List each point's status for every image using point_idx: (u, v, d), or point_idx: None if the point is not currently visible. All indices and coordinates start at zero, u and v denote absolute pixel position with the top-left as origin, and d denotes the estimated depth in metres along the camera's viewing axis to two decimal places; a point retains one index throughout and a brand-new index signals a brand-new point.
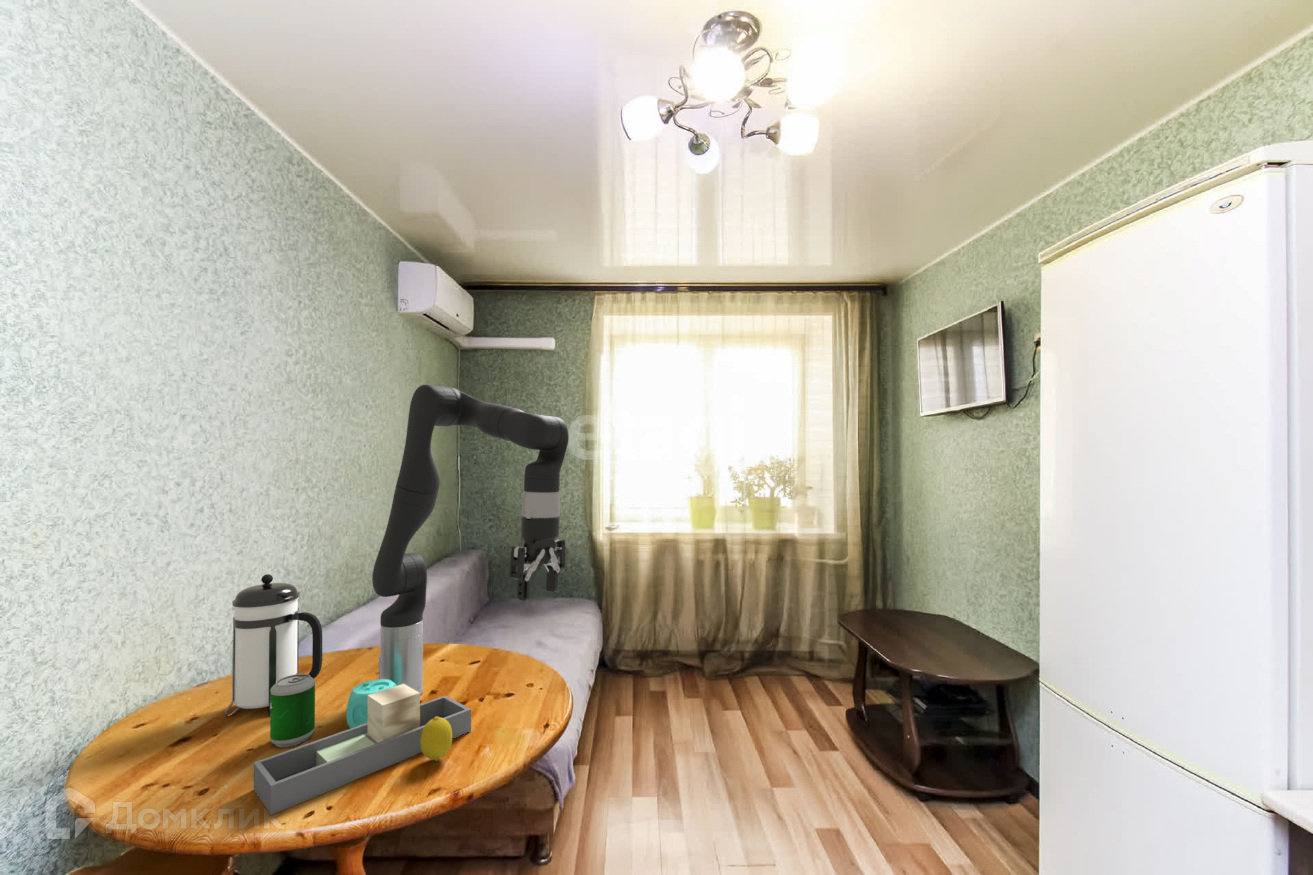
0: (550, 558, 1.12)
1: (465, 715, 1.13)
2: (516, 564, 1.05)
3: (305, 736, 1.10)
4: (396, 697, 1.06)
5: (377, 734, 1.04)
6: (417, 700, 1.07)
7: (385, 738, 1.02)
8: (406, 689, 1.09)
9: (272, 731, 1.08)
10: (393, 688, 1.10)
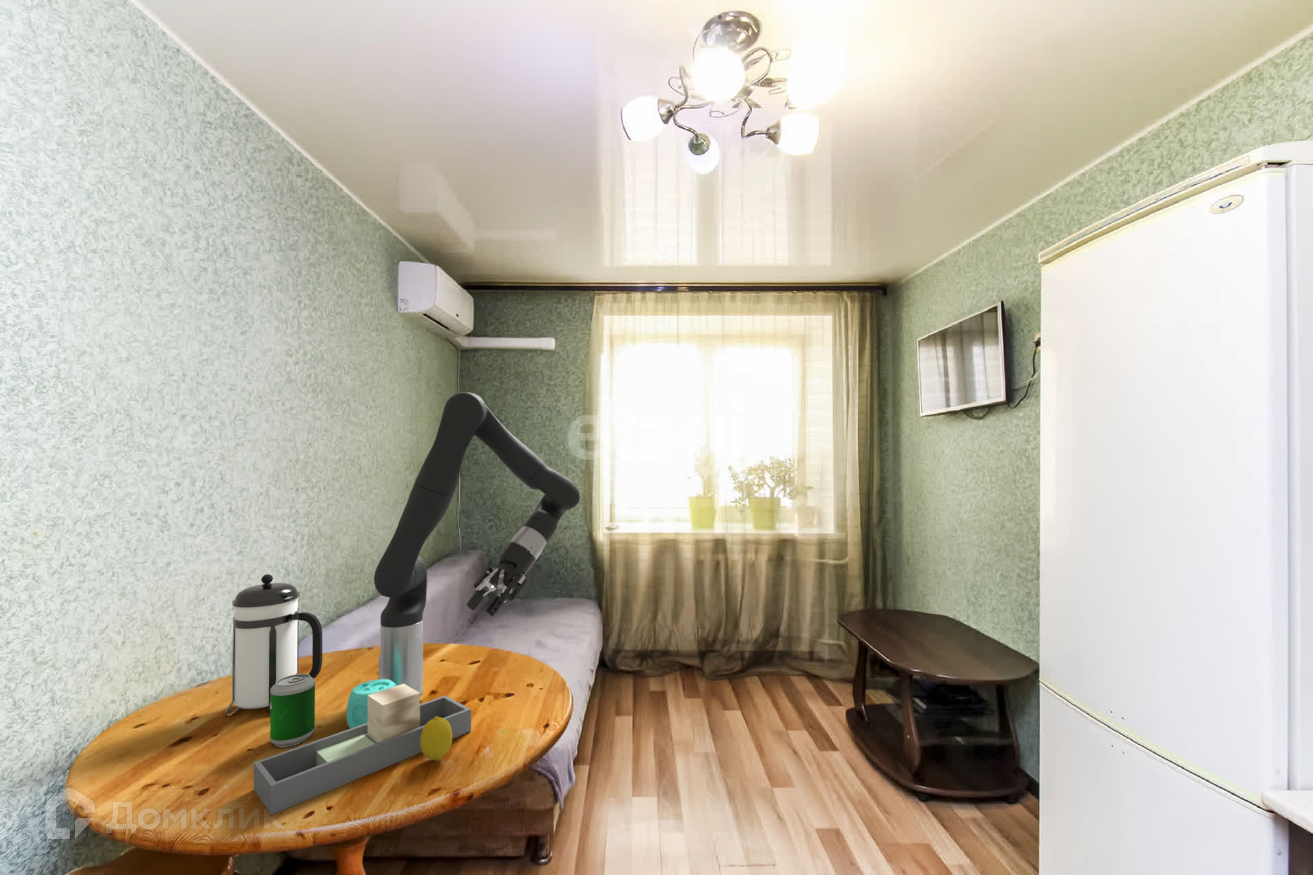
0: None
1: (465, 715, 1.13)
2: (517, 588, 1.21)
3: (305, 736, 1.10)
4: (396, 697, 1.06)
5: (377, 734, 1.04)
6: (417, 700, 1.07)
7: (385, 738, 1.02)
8: (406, 689, 1.09)
9: (272, 731, 1.08)
10: (393, 688, 1.10)
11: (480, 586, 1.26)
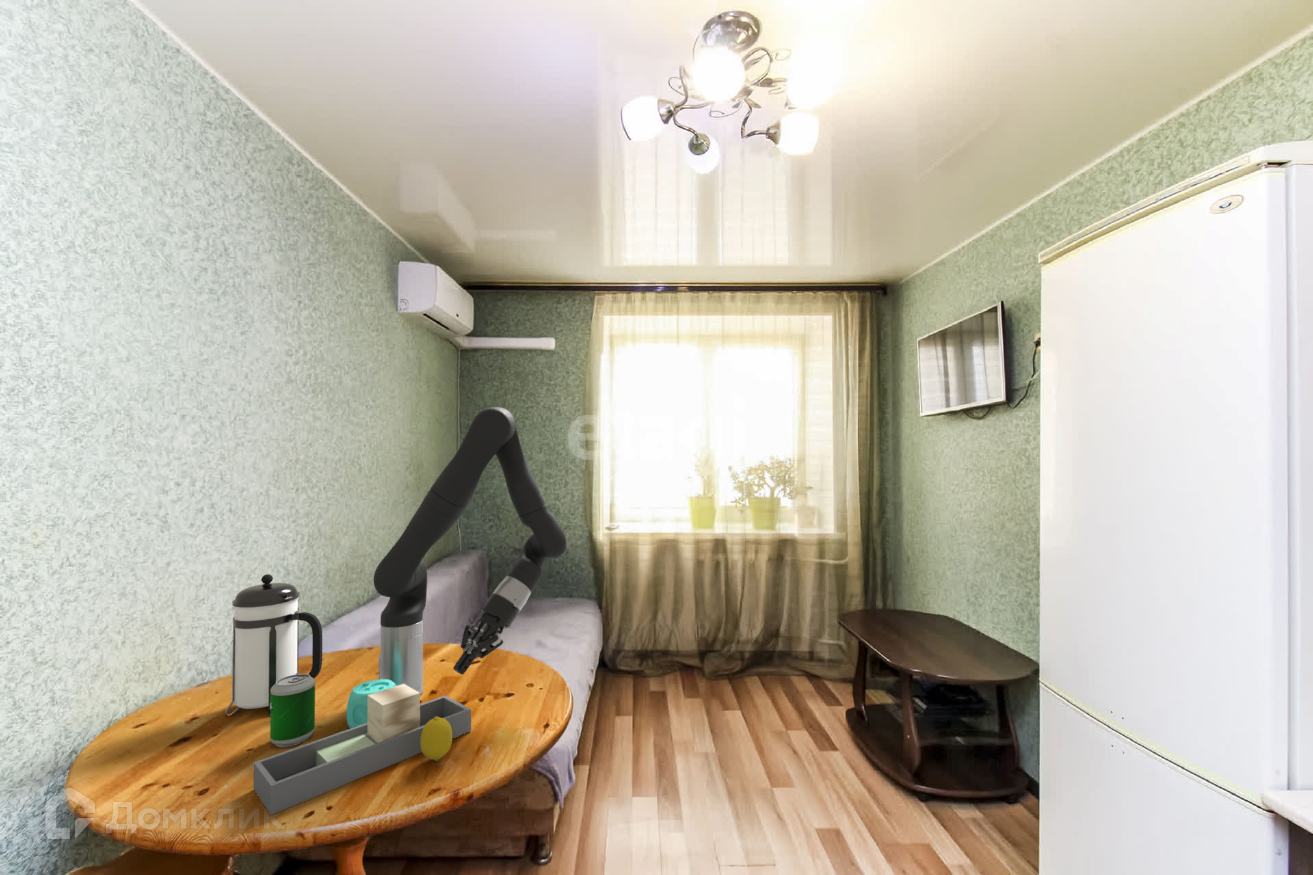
0: None
1: (465, 715, 1.13)
2: (488, 649, 1.18)
3: (305, 736, 1.10)
4: (396, 697, 1.06)
5: (377, 734, 1.04)
6: (417, 700, 1.07)
7: (385, 738, 1.02)
8: (406, 689, 1.09)
9: (272, 731, 1.08)
10: (393, 688, 1.10)
11: (468, 647, 1.20)
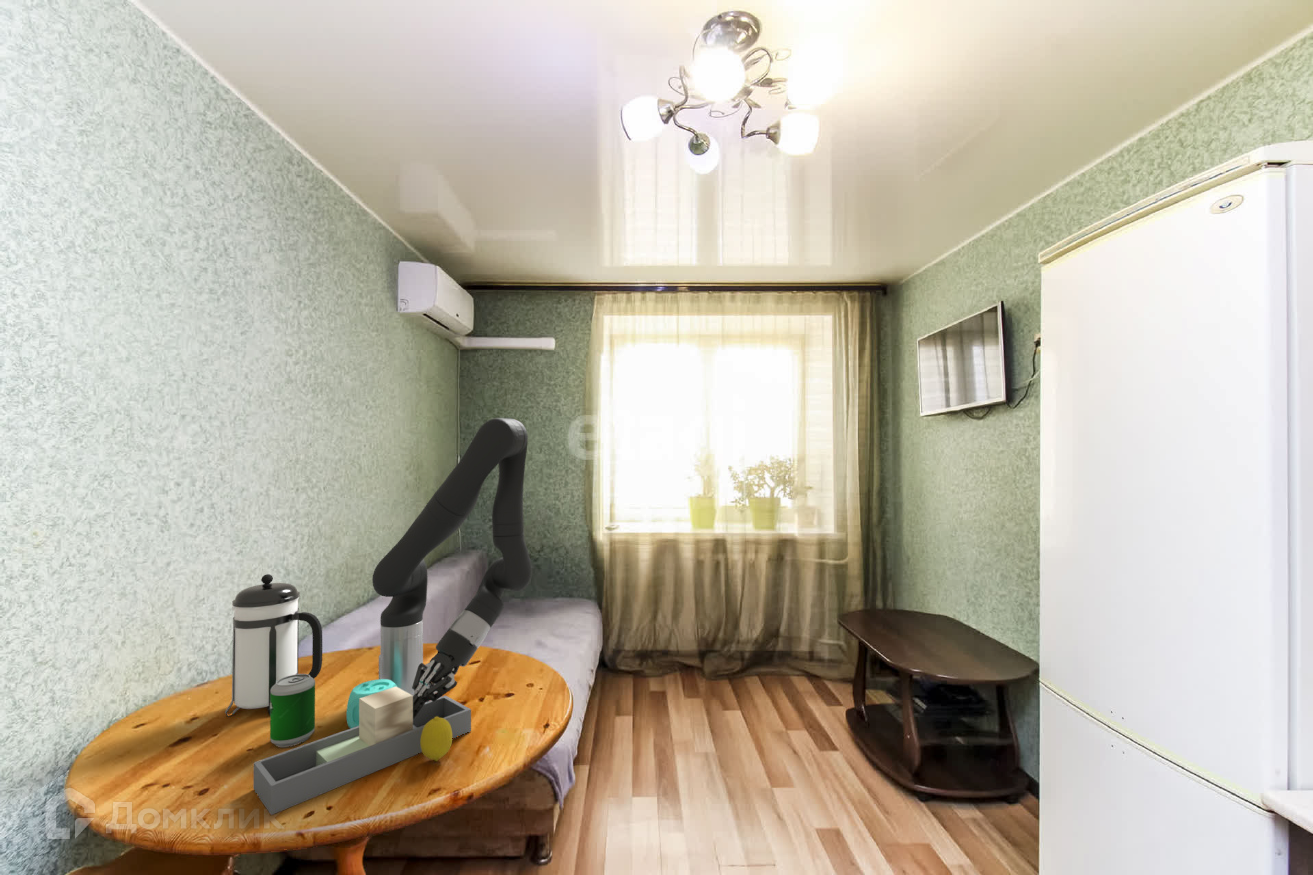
0: None
1: (465, 715, 1.13)
2: (441, 692, 1.10)
3: (305, 736, 1.10)
4: (389, 700, 1.04)
5: (369, 738, 1.02)
6: (410, 703, 1.06)
7: (378, 742, 1.01)
8: (398, 692, 1.08)
9: (272, 731, 1.08)
10: (385, 691, 1.09)
11: (419, 689, 1.11)
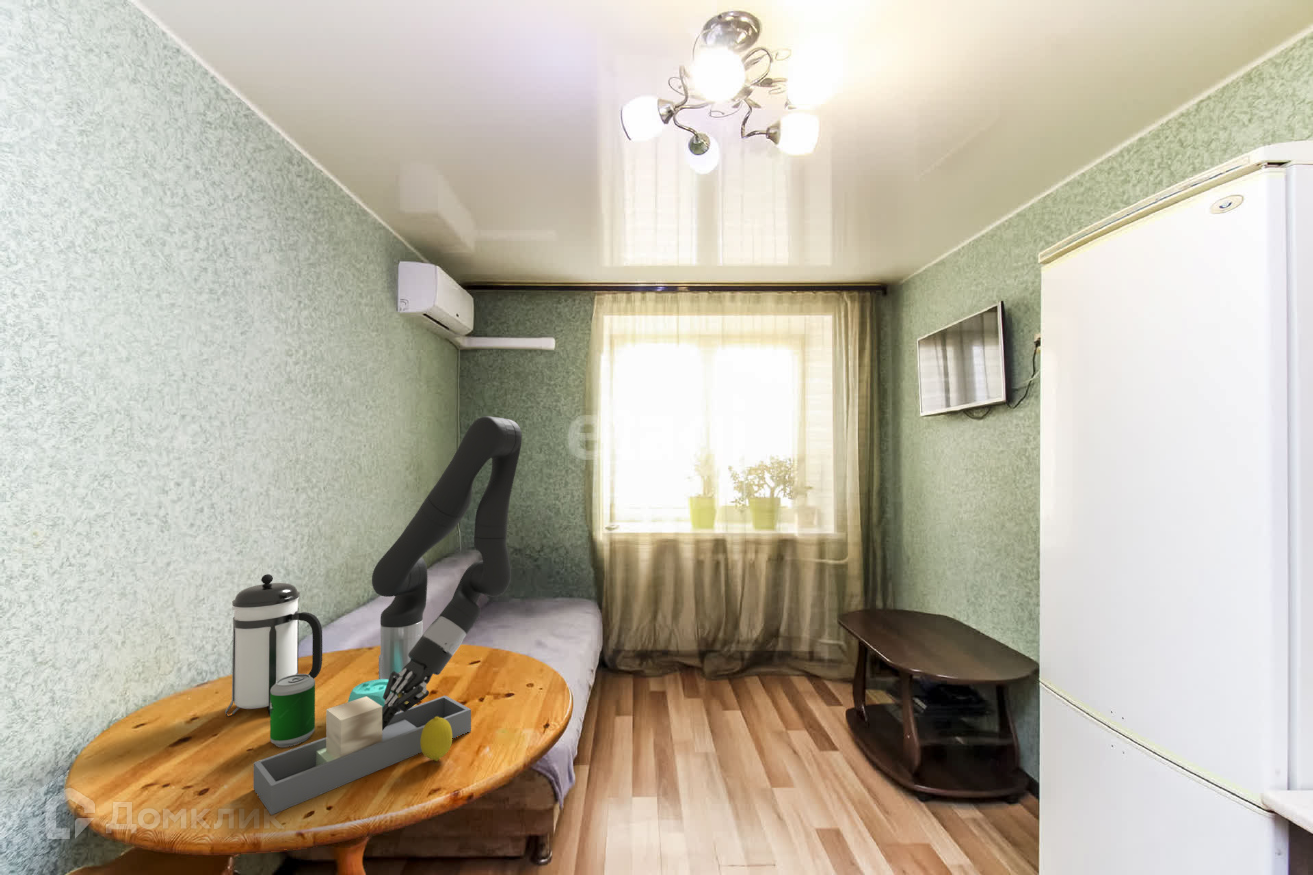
0: None
1: (465, 715, 1.13)
2: (412, 702, 1.05)
3: (305, 736, 1.10)
4: (356, 711, 1.00)
5: (336, 751, 0.98)
6: (379, 714, 1.01)
7: (343, 755, 0.97)
8: (368, 702, 1.04)
9: (272, 731, 1.08)
10: (354, 701, 1.04)
11: (390, 699, 1.07)
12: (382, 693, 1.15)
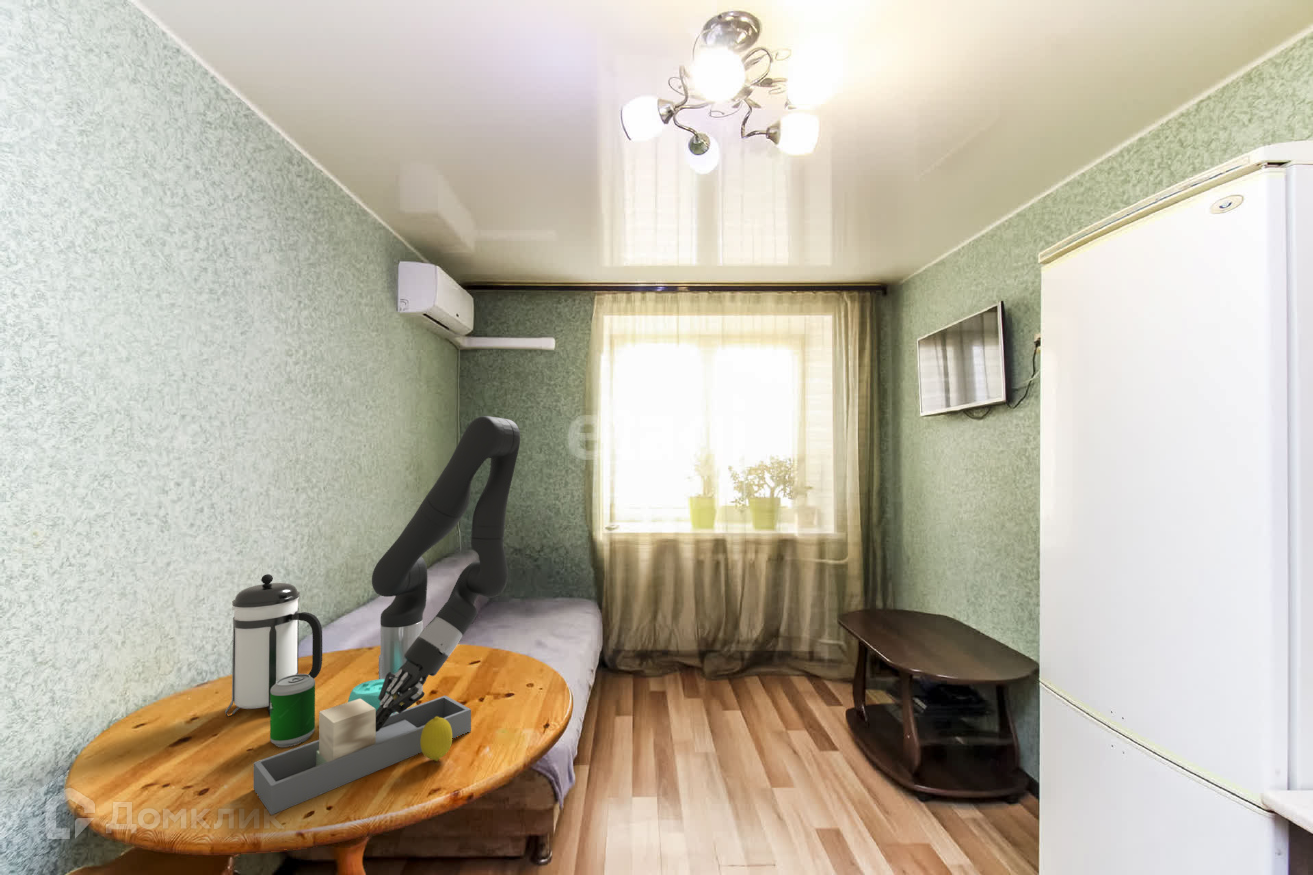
0: None
1: (465, 715, 1.13)
2: (407, 703, 1.05)
3: (305, 736, 1.10)
4: (350, 713, 0.99)
5: (328, 753, 0.97)
6: (372, 716, 1.01)
7: (336, 758, 0.96)
8: (361, 704, 1.03)
9: (272, 731, 1.08)
10: (348, 703, 1.03)
11: (385, 700, 1.06)
12: None
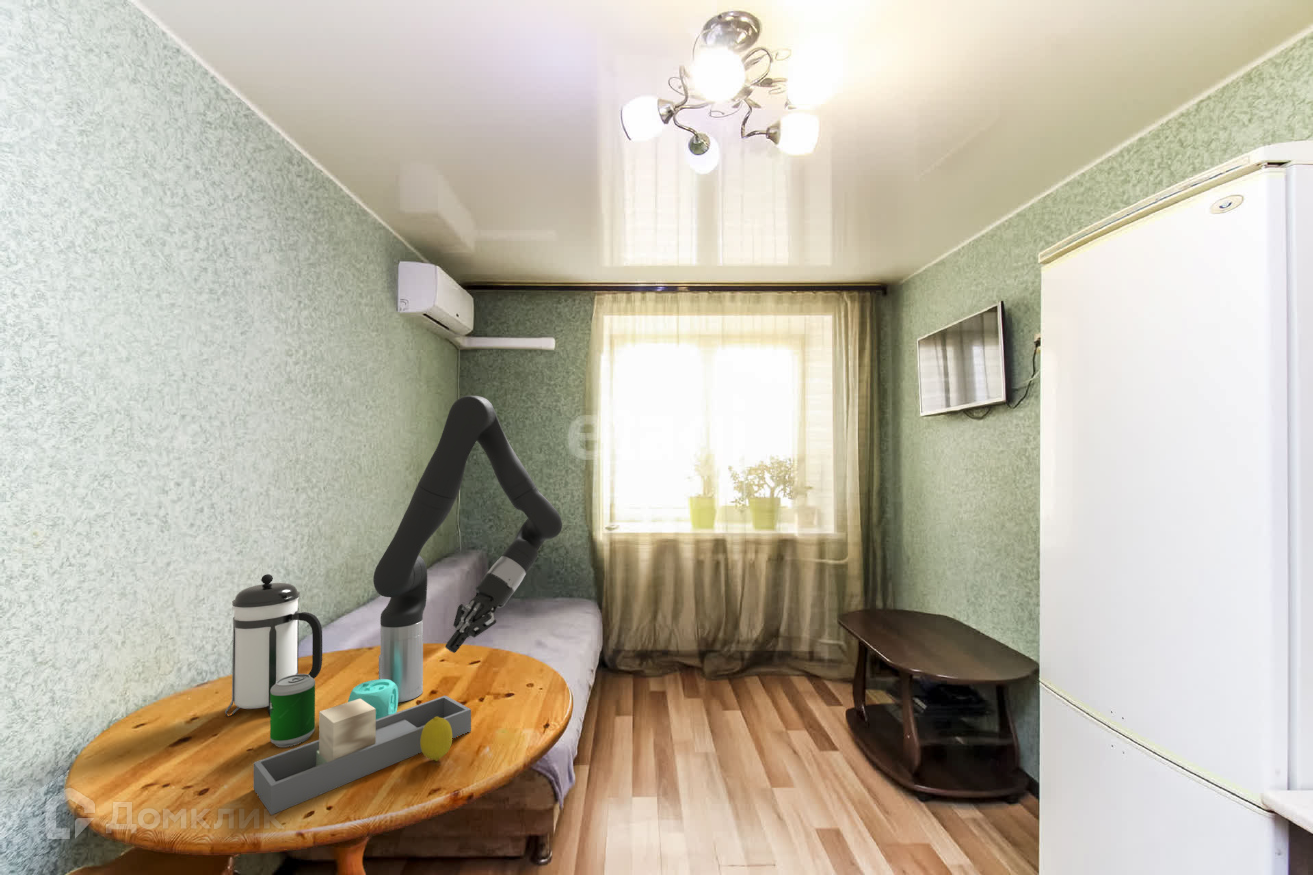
0: None
1: (465, 715, 1.13)
2: (481, 628, 1.17)
3: (305, 736, 1.10)
4: (350, 713, 0.99)
5: (328, 753, 0.97)
6: (372, 716, 1.01)
7: (336, 758, 0.96)
8: (361, 704, 1.03)
9: (272, 731, 1.08)
10: (348, 703, 1.03)
11: (460, 626, 1.19)
12: (382, 693, 1.15)
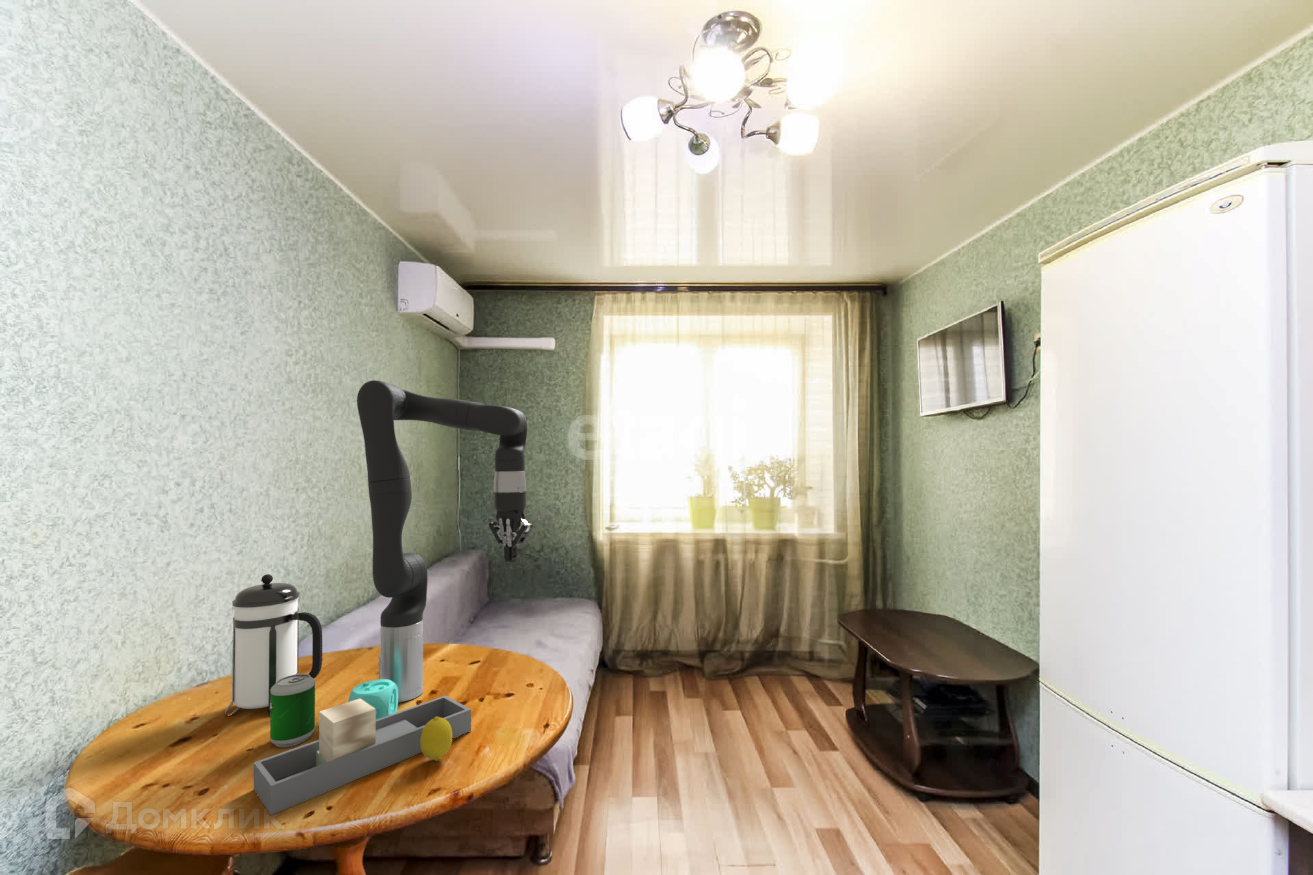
0: None
1: (465, 715, 1.13)
2: (524, 536, 1.32)
3: (305, 736, 1.10)
4: (350, 713, 0.99)
5: (328, 753, 0.97)
6: (372, 716, 1.01)
7: (336, 758, 0.96)
8: (361, 704, 1.03)
9: (272, 731, 1.08)
10: (348, 703, 1.03)
11: (505, 542, 1.33)
12: (382, 693, 1.15)
